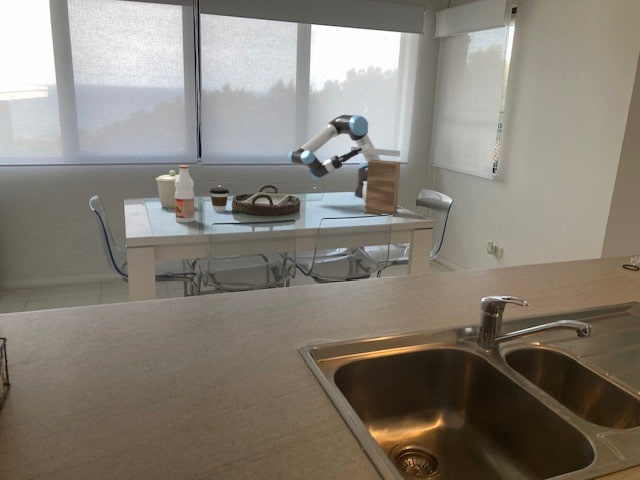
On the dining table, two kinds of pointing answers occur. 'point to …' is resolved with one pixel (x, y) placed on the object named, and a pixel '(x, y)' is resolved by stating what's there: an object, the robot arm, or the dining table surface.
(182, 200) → the fruit juice
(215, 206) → the coffee cup
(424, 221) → the dining table surface
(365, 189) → the jar
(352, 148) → the steel bar
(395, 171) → the walnut tower
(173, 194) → the canister
